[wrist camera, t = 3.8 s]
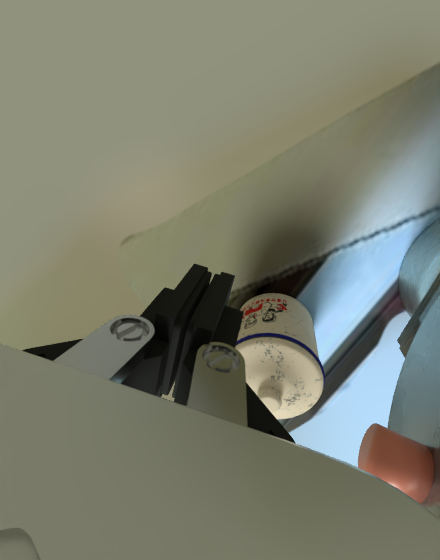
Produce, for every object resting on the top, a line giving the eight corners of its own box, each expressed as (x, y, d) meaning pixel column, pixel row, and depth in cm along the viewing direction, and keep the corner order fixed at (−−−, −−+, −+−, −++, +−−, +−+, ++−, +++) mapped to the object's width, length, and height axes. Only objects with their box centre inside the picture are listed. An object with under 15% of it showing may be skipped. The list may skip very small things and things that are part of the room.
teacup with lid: (284, 274, 31) (283, 338, 21) (331, 336, 33) (353, 424, 22) (200, 326, 36) (165, 400, 25) (246, 378, 38) (231, 467, 27)
